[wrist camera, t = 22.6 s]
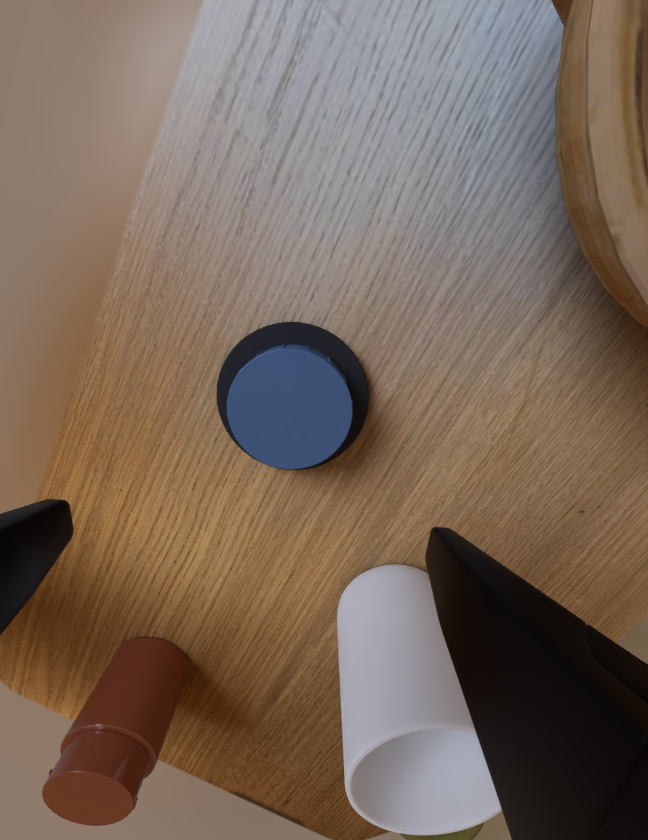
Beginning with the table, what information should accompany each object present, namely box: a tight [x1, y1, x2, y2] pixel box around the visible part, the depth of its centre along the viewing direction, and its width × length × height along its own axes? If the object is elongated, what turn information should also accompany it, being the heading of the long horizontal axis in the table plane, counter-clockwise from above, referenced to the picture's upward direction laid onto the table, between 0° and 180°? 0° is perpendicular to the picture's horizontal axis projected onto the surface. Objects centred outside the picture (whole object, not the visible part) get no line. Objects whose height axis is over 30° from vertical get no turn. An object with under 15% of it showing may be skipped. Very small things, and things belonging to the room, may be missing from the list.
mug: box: [337, 564, 502, 835], centre depth 21 cm, size 12×8×10 cm
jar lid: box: [227, 343, 353, 469], centre depth 19 cm, size 7×7×2 cm
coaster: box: [217, 322, 369, 470], centre depth 21 cm, size 9×9×1 cm
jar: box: [42, 637, 189, 826], centre depth 24 cm, size 6×6×8 cm
